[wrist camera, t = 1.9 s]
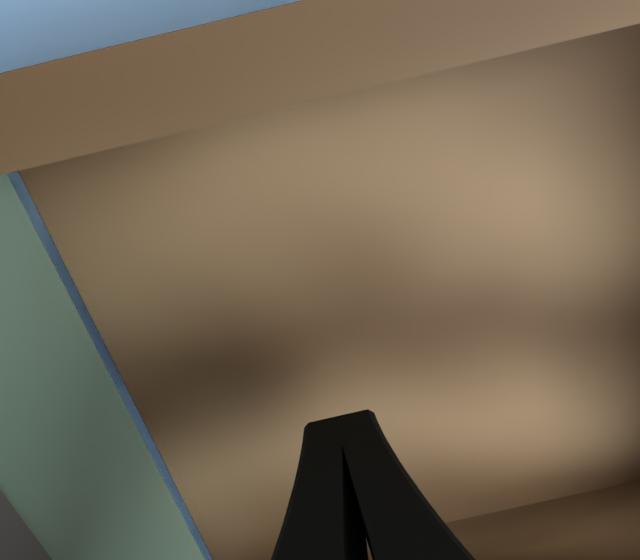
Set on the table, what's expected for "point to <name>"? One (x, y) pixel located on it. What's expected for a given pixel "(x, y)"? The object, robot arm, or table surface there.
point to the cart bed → (365, 253)
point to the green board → (68, 427)
